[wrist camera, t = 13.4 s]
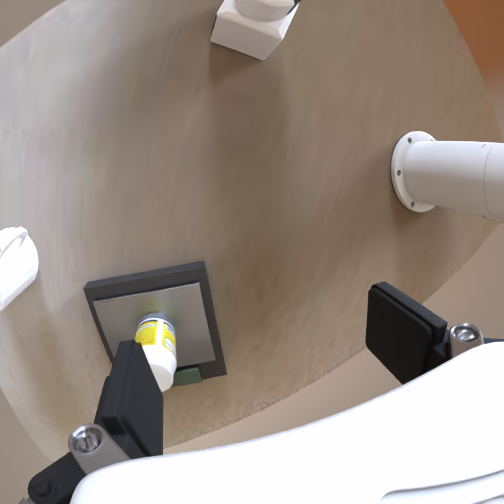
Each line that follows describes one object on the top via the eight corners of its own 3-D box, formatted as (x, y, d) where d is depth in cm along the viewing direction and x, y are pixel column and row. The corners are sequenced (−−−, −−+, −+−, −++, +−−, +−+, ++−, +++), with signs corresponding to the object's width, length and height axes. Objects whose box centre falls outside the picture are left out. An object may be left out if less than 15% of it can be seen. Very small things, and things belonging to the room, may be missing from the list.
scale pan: (198, 280, 33) (199, 282, 32) (215, 356, 36) (216, 360, 35) (94, 298, 30) (92, 301, 30) (122, 371, 34) (121, 375, 33)
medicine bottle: (230, 2, 26) (252, -53, 15) (281, 21, 28) (321, -25, 17) (208, 41, 27) (223, -11, 16) (263, 62, 29) (301, 19, 18)
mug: (67, 241, 30) (32, 268, 20) (20, 297, 29) (-14, 333, 20) (30, 192, 27) (-14, 203, 18) (-14, 254, 27) (-54, 279, 17)
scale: (203, 261, 34) (206, 269, 32) (224, 366, 39) (228, 379, 36) (87, 282, 32) (80, 291, 29) (125, 381, 36) (123, 395, 34)
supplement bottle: (132, 342, 32) (124, 387, 24) (142, 311, 31) (133, 353, 23) (169, 354, 34) (169, 400, 26) (180, 323, 33) (183, 367, 25)
